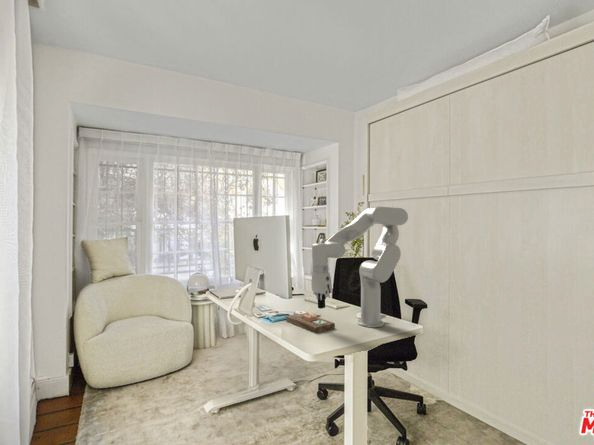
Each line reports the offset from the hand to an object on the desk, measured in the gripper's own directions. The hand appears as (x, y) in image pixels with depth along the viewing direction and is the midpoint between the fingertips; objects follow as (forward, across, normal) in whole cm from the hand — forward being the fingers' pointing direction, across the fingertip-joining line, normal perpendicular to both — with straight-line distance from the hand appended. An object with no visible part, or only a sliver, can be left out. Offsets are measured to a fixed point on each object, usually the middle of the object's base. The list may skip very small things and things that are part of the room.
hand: (321, 307), depth 156 cm
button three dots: (+10, 0, +1) cm, 10 cm away
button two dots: (+8, +8, +1) cm, 11 cm away
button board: (+10, +8, +1) cm, 12 cm away
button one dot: (+8, +15, +1) cm, 17 cm away
